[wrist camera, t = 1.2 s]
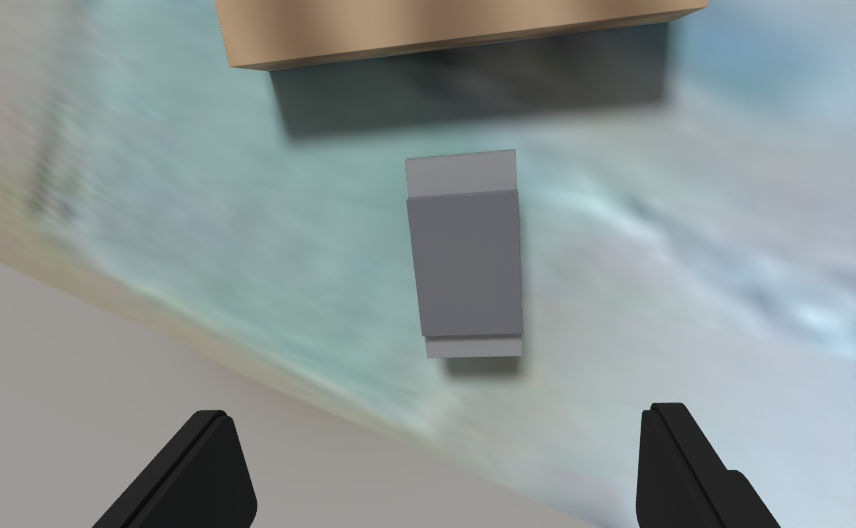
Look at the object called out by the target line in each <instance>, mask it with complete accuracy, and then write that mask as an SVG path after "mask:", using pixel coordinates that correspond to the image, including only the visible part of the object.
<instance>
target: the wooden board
mask: <svg viewBox="0 0 856 528" xmlns="http://www.w3.org/2000/svg"><path fill="white" fill-rule="evenodd" d="M214 1H215V6H216V10H217V15H218V19H219V23H220V28H221V32H222V37H223V41H224V46H225V50H226V54H227V59H228V63H229V67H235V68H244V69H253V70H263V71H274V70H282V69H290V68H298V67H306V66H315V65H323V64H331V63H339V62H347V61H355V60H363V59H372V58H380V57H388V56H396V55H404V54H412V53H420V52H428V51H437V50H445V49H453V48H461V47H469V46H477V45H485V44H493V43H502V42H510V41H518V40H526V39H534V38H542V37H550V36H559V35H567V34H575V33H583V32H591V31H599V30H607V29H615V28H624V27H632V26H640V25H648V24H656V23H664V22H670V21H673V20H675V19H678V18H680V17H683V16H685V15H688V14H690V13H693V12H695V11H698V10H700V9H703V8H705V7H708V0H214Z"/></svg>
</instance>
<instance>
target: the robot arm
mask: <svg viewBox="0 0 856 528" xmlns="http://www.w3.org/2000/svg"><path fill="white" fill-rule="evenodd" d="M256 512H257V499H256V496H255V493H254V489H253V486H252V482H251V479H250V475H249V472H248V469H247V465H246V462H245V459H244V455H243V452H242V449H241V445H240V442H239V438H238V435H237V432H236V428H235V425H234V421H233V419H232V418H231V417H229V416H227V414H226V413H225V412H224V411H222V410H200V411H197V412H196V413H194V414H193V415H192V416H191V418H190V419H189V420H188V421H187V422H186V423H185V424H184V425H183V426H182V428H181V429H180V430H179V431H178V432H177V433H176V434H175V435H174V437H173V438H172V439H171V440H170V441H169V442H168V443H167V444H166V445H165V447H164V448H163V449H162V450H161V451H160V452H159V453H158V454H157V456H156V457H155V458H154V459H153V460H152V461H151V462H150V463H149V464H148V466H147V467H146V468H145V469H144V470H143V471H142V472H141V473H140V474H139V476H138V477H137V478H136V479H135V480H134V481H133V482H132V484H130V486H129V487H128V488H127V489H126V490H125V491H124V492H123V493H122V494H121V496H120V497H119V498H118V499H117V500H116V501H115V502H114V503H113V505H112V506H111V507H110V508H109V509H108V510H107V511H106V512H105V513H104V515H103V516H102V517H101V518H100V519H99V520H98V521H97V522H96V523H95V525H94V526H93V527H92V528H250V525H251V524H252V522H253V520H254V518H255V516H256ZM636 514H637V520H638V523H639V527H640V528H781V527H780V526H779V524H778V523H777V521H776V520H775V518H774V517H773V516H772V514H771V513H770V511H769V510H768V508H767V507H766V505H765V504H764V503H763V501H762V500H761V498H760V497H759V495H758V494H757V492H756V491H755V490H754V488H753V487H752V485H751V484H750V482H749V481H748V480H747V478H746V477H745V476H744V475H743V474H742V473H741V472H739V471H737V470H727V469H726V467H725V466H724V464H723V463H722V461H721V460H720V458H719V456H718V455H717V453H716V452H715V450H714V449H713V447H712V446H711V444H710V443H709V441H708V440H707V438H706V437H705V435H704V434H703V432H702V431H701V429H700V428H699V426H698V425H697V423H696V421H695V420H694V418H693V417H692V415H691V414H690V412H689V411H688V409H687V408H686V406H685V405H684V404H683V403H653V404H652V405H651V408H650V410H644V411H643V412H642V420H641V434H640V449H639V464H638V479H637V494H636Z"/></svg>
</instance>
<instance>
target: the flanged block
mask: <svg viewBox="0 0 856 528" xmlns="http://www.w3.org/2000/svg"><path fill="white" fill-rule="evenodd" d="M405 167H406V176H407V184H408V193H409V198H408V199H407V209H408V217H409V226H410V235H411V243H412V252H413V261H414V269H415V278H416V287H417V295H418V304H419V313H420V321H421V330H422V336H425V343H426V352H427V358H450V357H494V356H523V353H522V333H523V330H522V300H521V270H520V240H519V210H518V191H517V177H516V151H515V149H509V150H498V151H486V152H475V153H463V154H452V155H440V156H429V157H417V158H407V159H406V160H405Z"/></svg>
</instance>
